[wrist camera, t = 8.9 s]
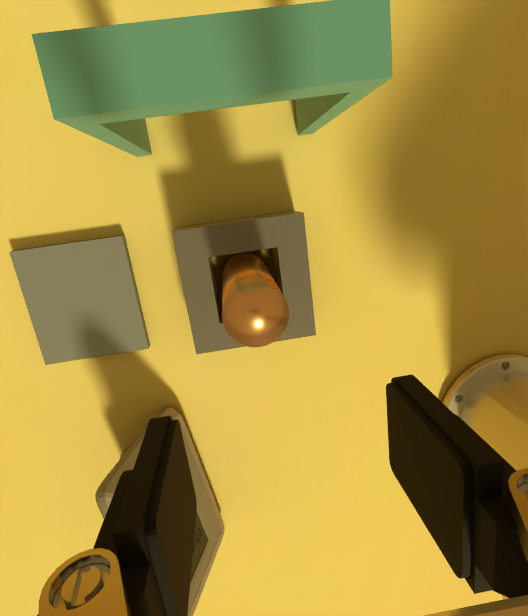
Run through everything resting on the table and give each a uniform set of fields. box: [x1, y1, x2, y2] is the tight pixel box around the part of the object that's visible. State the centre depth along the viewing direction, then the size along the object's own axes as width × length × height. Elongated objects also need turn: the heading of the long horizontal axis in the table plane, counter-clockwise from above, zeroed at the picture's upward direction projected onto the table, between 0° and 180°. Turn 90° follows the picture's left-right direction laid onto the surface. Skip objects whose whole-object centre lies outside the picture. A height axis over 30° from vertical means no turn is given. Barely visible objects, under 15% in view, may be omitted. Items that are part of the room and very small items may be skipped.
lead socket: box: [172, 211, 316, 354], centre depth 33 cm, size 10×10×4 cm
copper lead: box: [222, 254, 289, 347], centre depth 29 cm, size 4×4×12 cm
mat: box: [10, 235, 150, 365], centre depth 34 cm, size 10×9×1 cm
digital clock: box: [96, 407, 224, 616], centre depth 35 cm, size 16×9×11 cm, turn 4°
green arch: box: [32, 0, 392, 157], centre depth 23 cm, size 3×14×16 cm, turn 97°
